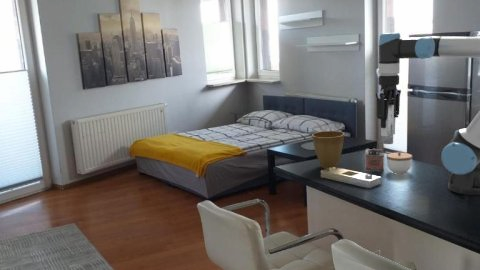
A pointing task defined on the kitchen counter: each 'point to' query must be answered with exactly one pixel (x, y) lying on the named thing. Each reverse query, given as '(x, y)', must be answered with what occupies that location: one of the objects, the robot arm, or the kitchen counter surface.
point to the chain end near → (363, 180)
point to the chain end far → (337, 173)
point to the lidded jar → (399, 162)
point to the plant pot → (328, 147)
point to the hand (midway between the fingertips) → (387, 134)
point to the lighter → (374, 160)
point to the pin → (389, 126)
